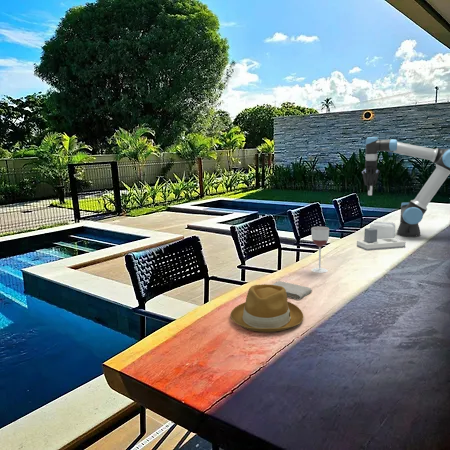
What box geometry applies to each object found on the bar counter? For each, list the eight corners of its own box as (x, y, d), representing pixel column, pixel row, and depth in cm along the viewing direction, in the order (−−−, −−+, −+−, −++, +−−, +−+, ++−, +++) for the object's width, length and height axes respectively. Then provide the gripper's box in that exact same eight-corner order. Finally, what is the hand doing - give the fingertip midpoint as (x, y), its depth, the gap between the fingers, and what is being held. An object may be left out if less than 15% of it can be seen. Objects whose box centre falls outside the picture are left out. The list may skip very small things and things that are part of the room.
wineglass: (329, 268, 208) (330, 226, 204) (327, 273, 199) (328, 230, 195) (312, 267, 211) (312, 226, 207) (309, 272, 202) (310, 229, 198)
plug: (371, 244, 253) (372, 227, 251) (376, 246, 247) (377, 229, 245) (364, 244, 252) (364, 228, 250) (369, 246, 246) (369, 230, 244)
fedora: (219, 330, 140) (218, 298, 138) (244, 301, 166) (244, 273, 164) (295, 340, 130) (295, 306, 128) (309, 308, 157) (309, 279, 155)
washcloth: (277, 285, 185) (277, 279, 184) (313, 293, 174) (313, 286, 173) (263, 292, 176) (263, 286, 175) (300, 301, 165) (300, 294, 164)
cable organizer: (396, 239, 268) (396, 222, 266) (392, 242, 260) (393, 225, 258) (373, 237, 277) (373, 220, 275) (368, 240, 269) (369, 223, 267)
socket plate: (393, 243, 258) (393, 236, 257) (405, 247, 247) (405, 240, 246) (356, 246, 253) (356, 239, 253) (366, 250, 242) (367, 243, 241)
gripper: (376, 160, 274) (375, 194, 278) (359, 160, 271) (358, 195, 275) (383, 160, 266) (381, 195, 271) (365, 160, 264) (364, 196, 268)
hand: (369, 195), depth 273 cm, fingers closed
